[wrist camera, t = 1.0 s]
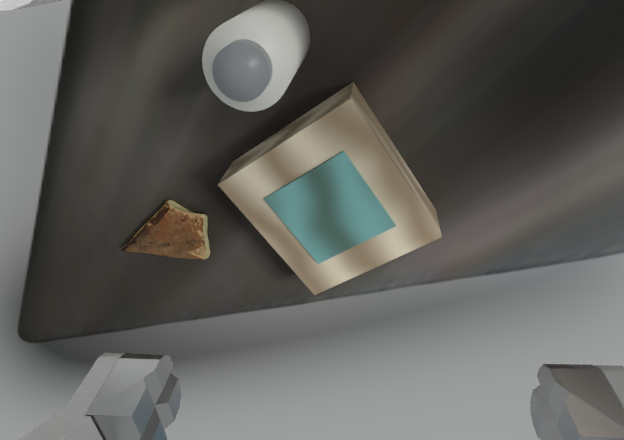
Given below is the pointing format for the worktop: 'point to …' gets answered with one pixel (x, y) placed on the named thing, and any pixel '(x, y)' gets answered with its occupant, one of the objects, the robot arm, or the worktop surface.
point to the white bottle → (256, 55)
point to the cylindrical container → (21, 4)
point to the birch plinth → (332, 193)
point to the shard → (173, 234)
